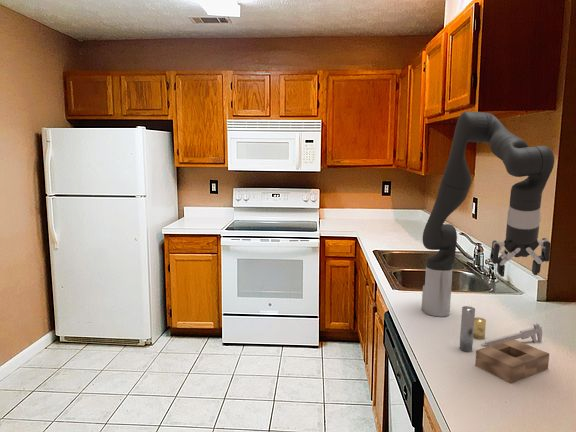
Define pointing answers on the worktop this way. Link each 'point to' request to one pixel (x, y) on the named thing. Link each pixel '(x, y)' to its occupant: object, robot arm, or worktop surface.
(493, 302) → the worktop surface
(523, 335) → the caliper
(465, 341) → the long pin
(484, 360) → the hole block
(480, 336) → the short pin
